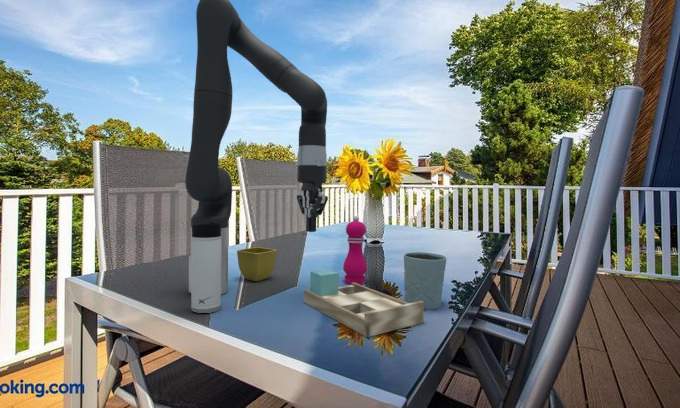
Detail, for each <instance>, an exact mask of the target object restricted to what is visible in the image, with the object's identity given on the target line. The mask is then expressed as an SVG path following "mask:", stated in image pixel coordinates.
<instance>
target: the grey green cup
mask: <svg viewBox="0 0 680 408" xmlns="http://www.w3.org/2000/svg"><path fill="white" fill-rule="evenodd" d="M447 259H448V258H447V257H446V256H445V255H442V254H439V253H438V254H437V253H432V252H420V251H417V252H413V251H412V252H406V253H403V265H404V266H403V269H404V272H403V275H404V278H403V279H404V285H403V286H404V291H405V293H404V301H405V302H408V303H413V302H418V301H423V302H424V310H425V309H426V310H425V311H427V309H428V310H429V311H430V309H432V310H436V308H437V309H439V308H440V307H441V304H442V295H443V286H444V281H445V271H446V266H447Z"/></svg>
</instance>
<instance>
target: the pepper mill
mask: <svg viewBox="0 0 680 408" xmlns="http://www.w3.org/2000/svg"><path fill="white" fill-rule="evenodd" d="M359 220H360V217H359V216H358V215H354V216H353V217H352V221H350V222H348V223H347V225H346V226H345V233H346V235H347V236H348V237H347V243H348V252H347V255H346V258H345V259H344V262H343V265H342V266H343V267H342V269H343V271H344V273H345V275H344V283H345V284H348V285H352V283H357V284H360V285H364V284H365V283H366V276H365V274H366V273H367V271H368V264H367V261H366V258H365V255H364V253H363V244H364V243H365V238H364V235H365V234H366V231H367V228H366V225H365V224H364V223H363V222H362V221H359Z"/></svg>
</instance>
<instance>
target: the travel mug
mask: <svg viewBox="0 0 680 408" xmlns="http://www.w3.org/2000/svg"><path fill="white" fill-rule="evenodd" d="M190 296H191V298H190V299H191V300H190V301H191V302H190V303H191V306H190V309H191V310H192V311H194V312H199V313H209V314H213V313H212V312H214V313H217V312H218V311H220V310H221V308H222V305H221V304H222V295H221V223H220V222H211V224H201V225H192V271H191V294H190ZM192 311H191V312H192Z"/></svg>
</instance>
